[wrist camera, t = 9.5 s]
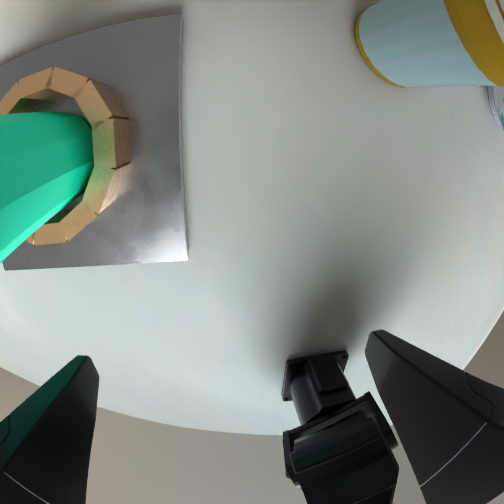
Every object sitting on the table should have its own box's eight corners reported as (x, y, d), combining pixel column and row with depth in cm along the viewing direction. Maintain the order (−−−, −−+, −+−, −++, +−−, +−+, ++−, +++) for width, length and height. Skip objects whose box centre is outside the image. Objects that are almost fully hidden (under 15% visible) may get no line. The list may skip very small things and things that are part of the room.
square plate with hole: (188, 251, 20) (184, 284, 16) (13, 262, 18) (-14, 289, 13) (183, 21, 13) (176, -7, 9) (-7, 77, 11) (-42, 74, 7)
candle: (72, 219, 16) (-33, 342, 5) (13, 174, 13) (-112, 251, 3) (116, 141, 14) (-19, 194, 4) (50, 95, 12) (-98, 103, 1)
